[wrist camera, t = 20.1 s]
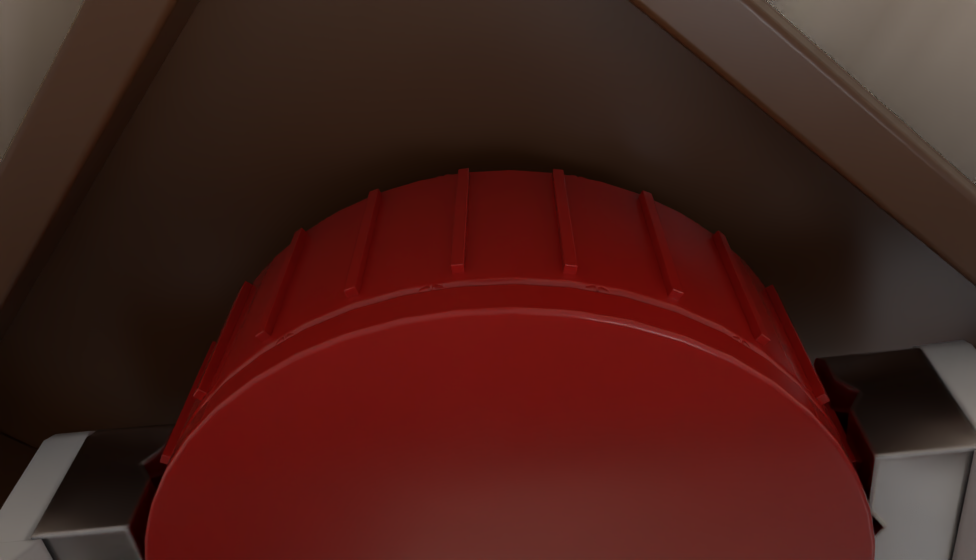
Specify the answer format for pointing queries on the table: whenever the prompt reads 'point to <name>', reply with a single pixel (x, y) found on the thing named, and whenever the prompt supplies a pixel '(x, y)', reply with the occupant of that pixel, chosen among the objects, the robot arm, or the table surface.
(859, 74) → the table surface
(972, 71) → the table surface
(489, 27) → the tray
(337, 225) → the jar lid
